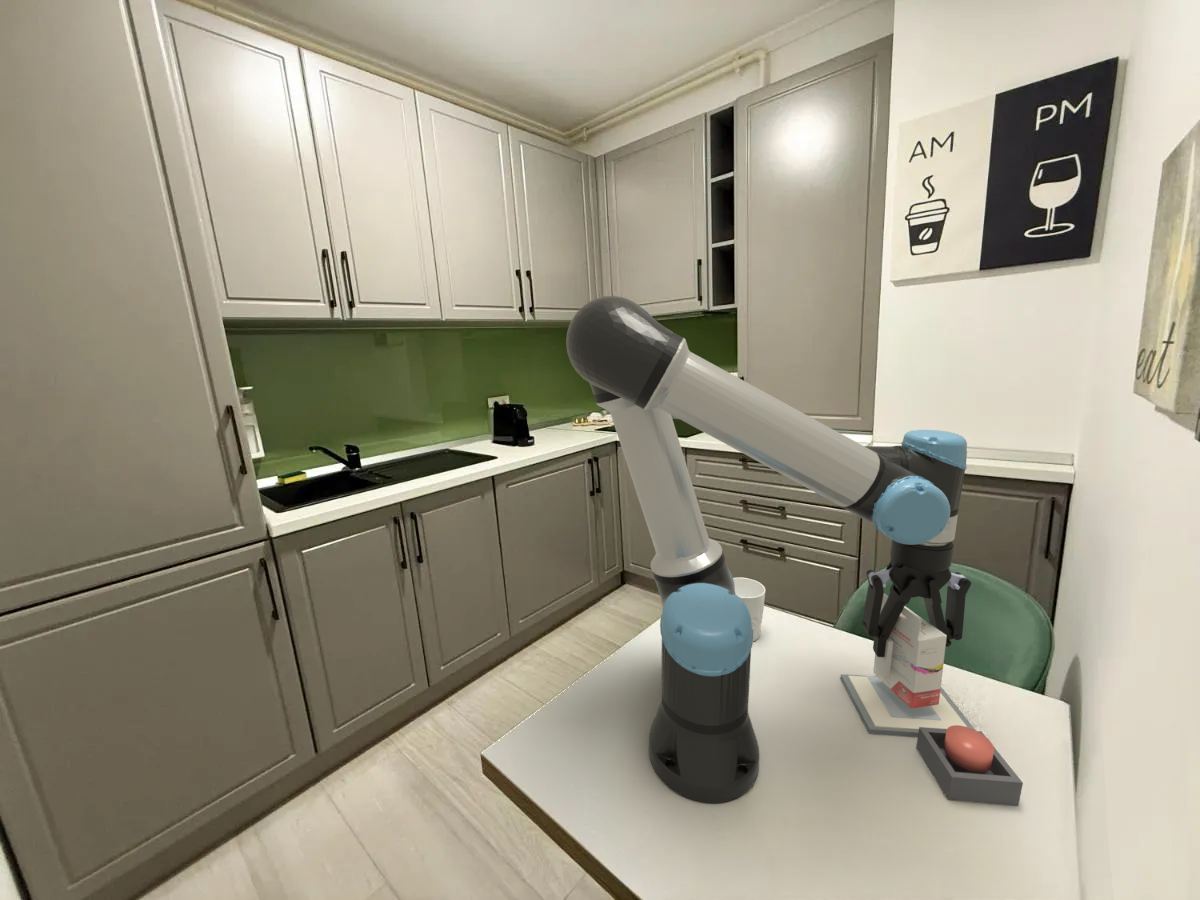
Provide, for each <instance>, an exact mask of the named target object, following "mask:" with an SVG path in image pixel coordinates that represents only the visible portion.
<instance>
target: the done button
mask: <svg viewBox="0 0 1200 900" xmlns="http://www.w3.org/2000/svg"><path fill="white" fill-rule="evenodd" d="M974 729H975V728H974ZM974 729H971V728H969V727H965V726H960V725H954V726H950V727H948V728H947V731H946V737H945V743H944V751H945V753H946V755H947V756H948V757H949V758H950V759H951V760H952V761H953V762H954V763H955V764H957V765H959V766H960V767H962V768H964V769H966V770H969V771H972V772H977V773H984V772H988V771H989V770H990V769H991V765H992V760H993V754H994V747H995V746H994V745H993V743H992V742H991V740H990V739H989V738H988V737H987V736H986V735H985V734H984V733H983V734H984V735H985V736H986V737H985V736H984V735H983V734H981V733H980V732H978V731H979V730H976V729H975V730H974Z"/></svg>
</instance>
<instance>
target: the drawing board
mask: <svg viewBox="0 0 1200 900" xmlns="http://www.w3.org/2000/svg"><path fill="white" fill-rule="evenodd" d="M840 680H841V682H842V684H843V686H844V688H845V690H846V692H847V694H848V696H849V698H850V700H851V701H852V704H853V705H854V707H855V709H856V711H857V713H858V715H859V717H860V719H861V720H862V721H861V722H862V723H863V725H864V727H865V729H866V731H867V732H868V734H869V735H879V736H881V735H882V736H895V737H908V738H918V732H919V727H925V728H940V729H947V728H948V727H950V726H954V725H960V726H965V727H969V728H971V729H974V730H976V729H975V727H974V726H973V724H971V722H970V721H969V720H968V718H967V717H966V715H964V713H963V712H962V711H961V710H960V709H959V707H958V706H957V705H956V704H955V702H954V700H953V699H952V698H951V697H950V695H948V694H947V692H946V691H945V689H944V688H943V687H942V686H941V689H940V698H939V704H938V705H932V706H926V707H920V708H913V709H912V708H910V707H909V706H908V705H907V704H906V703H905V702H904V701H903V700H901V699H900V698H899V697H898V696H897V695H896V694H895V693H894V692H893V691H892V690H891V689H890V688H889V687H888V686H887V685H885V684H884V683H883V682H882V681H881V680H880V679H879V678H878V677H877V676H876V675H875V676H874V675H861V674H860V675H857V674H856V675H855V674H845V673H844V674H840Z"/></svg>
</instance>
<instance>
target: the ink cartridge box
mask: <svg viewBox="0 0 1200 900" xmlns="http://www.w3.org/2000/svg"><path fill="white" fill-rule="evenodd" d="M888 597H889V595H887V594H886V593H884V594H883V600H882V606H881V611H882V609H883V607H884V605H885V603H886V601H887V599H888ZM881 611H880V613H881ZM889 637H890V638H891V639H892V641H893V642H894V643H893V651H892V659H891V667H890V676H889V679H884V678H883V677H882V675H881V674H880V672H879V671H878V669H877V668H876V667H877V659H878V657H877V655H876V654H875V653H874V662H873V674H874V675H875V676H877V677H878V678H879V679H880V680H881V681H882V682H883V683H884V684H885V685H887V686H888V687H889V688H890V689H891V690H892V691H893V692H894V693H895V694H896V695H897V696H898V697H899V698H900V699H901V700H903V701H904V702H905V703H906V704H907V705H908V706H909V707H910V708H912V709H913V708H920V707H926V706H932V705H938V704H939V698H940V689H941V687H942V680H943V672H944V671H943V670H944V663H945V654H946V653H945V652H946V638H947V635H945V634H944V633H943V632H941V631H940V630H938V629H937V628H935V627H934V626H932V625H931V624H930V623H929V621H927V620H925V619H924V618H922V617H921V616H919V615H918V614H916V613H915V612H914V611H913V610H911V609H910V608H909V607H907V606H904V608H903V610H902V612H901V614H900V616H899V618H898V620H897V622H896V624H895V626H894V628H893V630H892V632H891V634H890V636H889Z"/></svg>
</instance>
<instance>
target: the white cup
mask: <svg viewBox="0 0 1200 900" xmlns="http://www.w3.org/2000/svg"><path fill="white" fill-rule="evenodd" d="M733 581H734V586H735V593H736V595H737V596H738V597H739V598H741V599H742V601H743V602H744V603H745V605H746V606H747V608H748V610H749V612H750V615H751V622H752V628H753V643H754V642H756V641H757V640H758V639H759V638H760V637H761V636H760V635H761V627H762V623H763V618H764V617H763V615H764V609H765V598H766V587H765V586H764V585H763V584H762V582H759V581H757V580H755V579H751V578H747V577H733Z"/></svg>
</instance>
